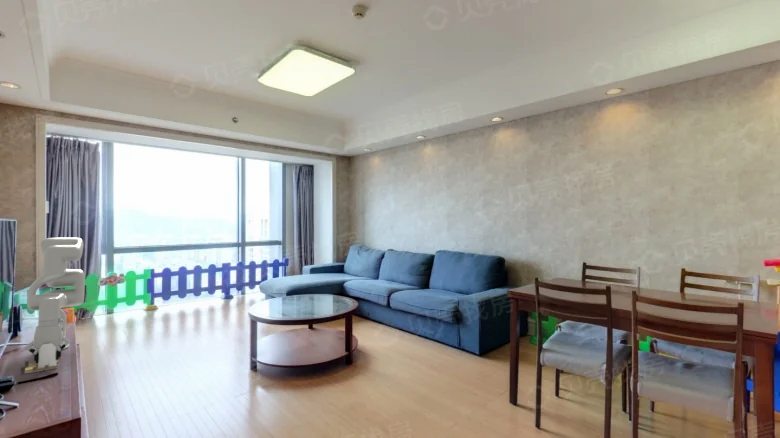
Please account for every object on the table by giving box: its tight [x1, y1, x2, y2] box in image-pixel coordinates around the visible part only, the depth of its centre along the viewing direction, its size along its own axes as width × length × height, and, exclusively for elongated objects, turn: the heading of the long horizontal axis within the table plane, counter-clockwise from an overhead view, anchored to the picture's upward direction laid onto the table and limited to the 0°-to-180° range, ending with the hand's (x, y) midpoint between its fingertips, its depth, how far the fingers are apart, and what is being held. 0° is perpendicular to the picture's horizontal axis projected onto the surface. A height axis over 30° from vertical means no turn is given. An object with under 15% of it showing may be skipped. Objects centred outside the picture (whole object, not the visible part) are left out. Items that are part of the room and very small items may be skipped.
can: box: [37, 343, 58, 368], centre depth 173 cm, size 6×6×12 cm
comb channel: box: [20, 359, 60, 375], centre depth 172 cm, size 9×12×3 cm
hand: (47, 360), depth 173 cm, fingers closed on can, 6 cm apart
